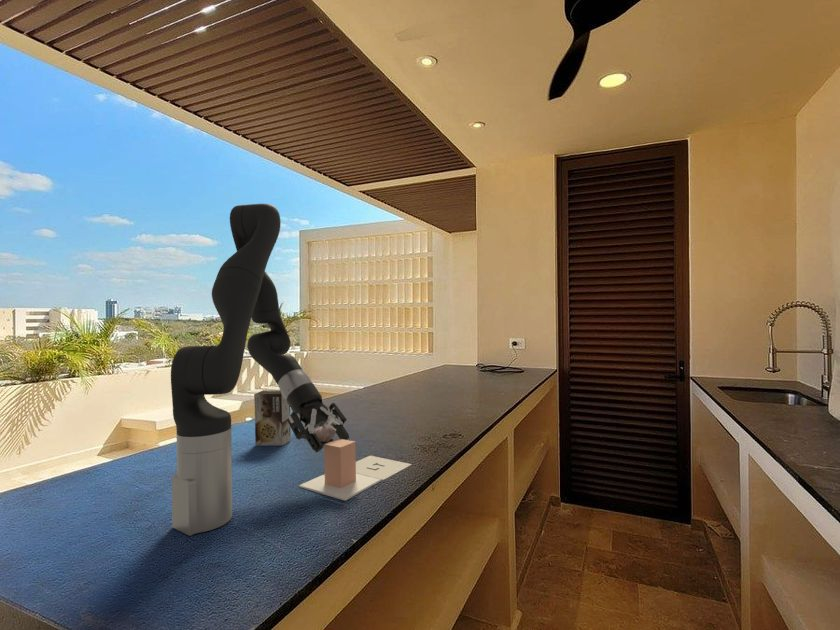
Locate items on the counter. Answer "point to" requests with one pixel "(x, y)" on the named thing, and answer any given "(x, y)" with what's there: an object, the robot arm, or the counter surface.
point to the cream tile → (379, 467)
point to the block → (340, 462)
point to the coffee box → (271, 418)
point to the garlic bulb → (324, 433)
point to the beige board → (340, 493)
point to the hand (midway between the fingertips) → (333, 445)
